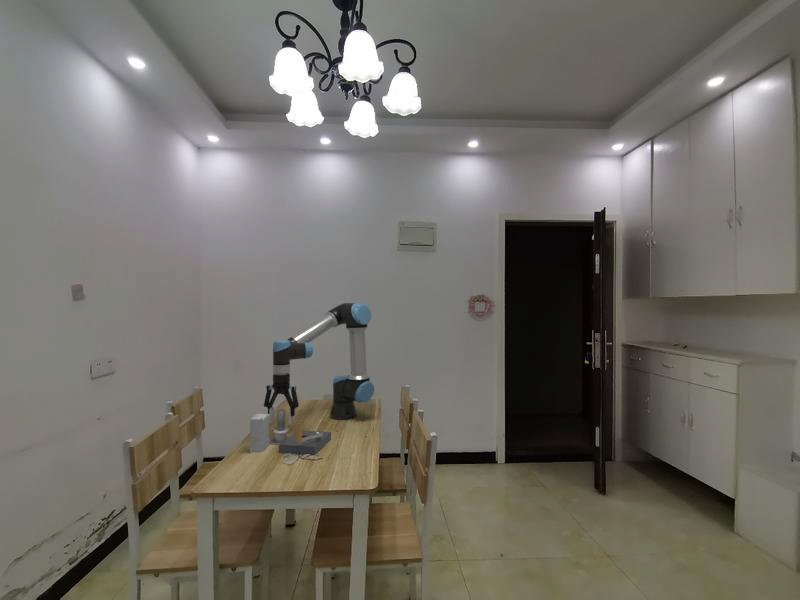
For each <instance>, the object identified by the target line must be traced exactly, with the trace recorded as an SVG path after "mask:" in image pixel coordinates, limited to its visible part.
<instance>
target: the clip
mask: <svg viewBox="0 0 800 600" xmlns="http://www.w3.org/2000/svg"><path fill="white" fill-rule="evenodd" d="M295 430H296V431H295V433H296V442H298V443H300V442H303V441H306V440H310V439H313V438H316V437H320V436H323V433H322V432H323V431H322V430H314V431H315V435H312V436H308V437H305V438H302V430H303V427H302V426H298V427H296V429H295ZM321 431H322V432H321Z"/></svg>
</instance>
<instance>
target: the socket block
mask: <svg viewBox="0 0 800 600" xmlns="http://www.w3.org/2000/svg"><path fill="white" fill-rule="evenodd" d="M315 431H316V430H303V429H302V438H305V437H308V436H312V435H315ZM320 431H321V432H322V433H323V436H320V437H316V438H313V439H310V440H306V441H303V442H300V443H298V442H296V432H294V433H293V434H292V435H290V436H289V437H287V439H286V440H285V441H283V442H282V443H281V444H279V445H278V453H279V454H287V453H291V454H290V455H302V454H312V455H311V456H316V455H317V454H318V453H319V452H320V451H321V450H322V449H323V448H324V447H325V446H326V445H328V444H329V442H331V440H332V432H331V431H322V430H320Z"/></svg>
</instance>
